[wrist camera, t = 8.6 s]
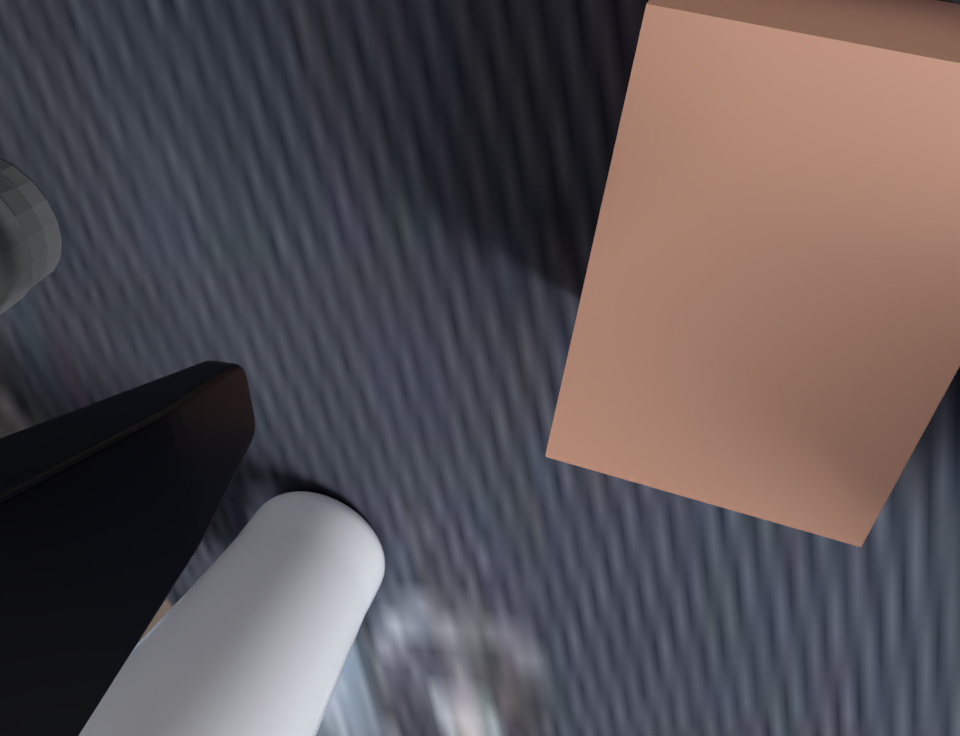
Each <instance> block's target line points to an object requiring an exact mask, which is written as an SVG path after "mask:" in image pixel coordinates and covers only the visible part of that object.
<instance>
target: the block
mask: <svg viewBox="0 0 960 736" xmlns="http://www.w3.org/2000/svg"><path fill="white" fill-rule="evenodd" d="M959 367H960V4H956V3H951V2H945V1H940V0H649V1H648V2H647V4H646V8H645V12H644V17H643V21H642V26H641V30H640V35H639V39H638V44H637V48H636V53H635V57H634V61H633V66H632V70H631V75H630V79H629V84H628V88H627V93H626V97H625V102H624V106H623V111H622V115H621V120H620V124H619V129H618V133H617V138H616V142H615V147H614V151H613V155H612V160H611V164H610V169H609V173H608V178H607V182H606V187H605V191H604V196H603V200H602V205H601V209H600V214H599V218H598V223H597V227H596V232H595V236H594V241H593V245H592V249H591V254H590V258H589V263H588V267H587V272H586V276H585V281H584V285H583V290H582V294H581V299H580V303H579V308H578V312H577V317H576V321H575V326H574V330H573V335H572V339H571V344H570V348H569V352H568V357H567V361H566V366H565V370H564V375H563V379H562V384H561V388H560V393H559V397H558V402H557V406H556V411H555V415H554V420H553V424H552V429H551V433H550V438H549V442H548V446H547V451H546V455H545V457H548V458H552V459H555V460H559V461H562V462H566V463H569V464H573V465H576V466H580V467H583V468H587V469H590V470H593V471H597V472H600V473H604V474H607V475H611V476H614V477H618V478H621V479H625V480H628V481H632V482H635V483H639V484H642V485H646V486H649V487H653V488H656V489H660V490H663V491H667V492H670V493H674V494H677V495H681V496H684V497H688V498H691V499H695V500H698V501H702V502H705V503H709V504H712V505H716V506H719V507H722V508H726V509H729V510H733V511H736V512H740V513H743V514H747V515H750V516H754V517H757V518H761V519H764V520H768V521H771V522H775V523H778V524H782V525H785V526H789V527H792V528H796V529H799V530H803V531H806V532H810V533H813V534H817V535H820V536H824V537H827V538H831V539H834V540H838V541H841V542H845V543H848V544H851V545H855V546H858V547H861V546H862V544H863V542H864V541H865V539H866V537H867V535H868V533H869V531H870V530H871V528H872V526H873V524H874V522H875V520H876V519H877V517H878V515H879V513H880V511H881V509H882V508H883V506H884V504H885V502H886V500H887V498H888V497H889V495H890V493H891V491H892V489H893V487H894V486H895V484H896V482H897V480H898V478H899V476H900V475H901V473H902V471H903V469H904V467H905V466H906V464H907V462H908V460H909V458H910V456H911V455H912V453H913V451H914V449H915V447H916V445H917V444H918V442H919V440H920V438H921V436H922V434H923V433H924V431H925V429H926V427H927V425H928V423H929V422H930V420H931V418H932V416H933V414H934V412H935V411H936V409H937V407H938V405H939V403H940V401H941V400H942V398H943V396H944V394H945V392H946V390H947V389H948V387H949V385H950V383H951V381H952V379H953V378H954V376H955V374H956V372H957V370H958V368H959Z"/></svg>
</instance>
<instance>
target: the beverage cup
mask: <svg viewBox="0 0 960 736" xmlns="http://www.w3.org/2000/svg"><path fill="white" fill-rule="evenodd" d="M61 249H62V238H61V234H60V230H59V225H58V221H57V219H56V217H55V215H54V213H53V211H52V209H51V207H50V205H49V203H48V201H47V199H46V198H45V197H44V196H43V194H42V193H41V192H40V191H39V189H38V188H37V187H36V186H35V184H34V183H33V182H32V181H31V180H30V179H29V178H28V177H26V176H25V175H24V174H23V173H22V172H20V171H19V170H18V169H17V168H16V167H14V166H13V165H11V164H9V163H7V162H5V161H3V160H1V159H0V315H1V314H2V313H4V312H5V311H6V310H8V309H9V308H10V307H11V306H13V305H14V304H15V303H17V302H18V301H19V300H21V299H22V298H23V297H25V296H26V294H27V292H28V291H29V290H30V289H32V288H33V287H34V286H35V285H36V284H38V283H39V282H40V281H41V280H42V279H44V278H45V277H46V276H48V275H49V274H51V273H52V272H54V270H55V268H56V267H57V265H58V263H59V261H60V259H61Z"/></svg>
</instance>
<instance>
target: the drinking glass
mask: <svg viewBox="0 0 960 736" xmlns="http://www.w3.org/2000/svg"><path fill="white" fill-rule="evenodd" d="M384 572H385V557H384V552H383V549H382V546H381V543H380V541H379V539H378V537H377V535H376V534H375V532H374V530H373V529H372V528H371V526H370V525H369V524H368V523H367V522H366V521H365V520H364V519H363V518H362V517H361V516H360V515H359V514H358V513H357V512H355V511H354V510H353V509H351V508H350V507H348V506H347V505H345V504H344V503H342V502H340V501H338V500H336V499H334V498H331V497H329V496H326V495H323V494H319V493H315V492H308V491H293V492H287V493H283V494H280V495H277V496H275V497H273V498H271V499H270V500H268V501H267V502H265V503H264V504H263V505H262V506H261V507H260V508H259V509H258V510H257V511H256V512H255V514H254V515H253V516H252V518H251V519H250V520H249V521H248V523H247V524H246V525H245V527H244V528H243V529H242V531H241V532H240V533H239V535H238V536H237V537H236V538H235V539H234V540H233V542H232V543H231V544H230V545H229V546H228V547H227V548H226V549H225V550H224V552H223V553H222V554H221V555H220V556H219V557H218V558H217V559H216V560H215V561H214V562H213V564H212V565H211V566H210V567H209V568H208V569H207V570H206V571H205V572H204V573H203V574H202V576H201V577H200V578H199V579H198V580H197V581H196V582H195V583H194V584H193V585H192V586H191V587H190V589H189V590H188V591H187V592H186V593H185V594H184V595H183V596H182V597H181V598H180V599H179V600H178V601H177V603H176V604H175V605H174V606H173V607H172V608H171V609H170V610H169V611H168V612H167V613H166V614H165V615H164V617H163V618H162V619H161V620H160V621H159V622H158V623H157V624H156V625H155V626H154V627H153V629H151V630H150V632H149V633H148V634H147V635H146V636H145V637H144V638H143V639H142V640H141V641H140V642H139V643H138V644H137V645H136V647H135V648H134V649H133V651H132V653H131V654H130V656H129V657H128V659H127V660H126V662H125V664H124V665H123V667H122V668H121V670H120V671H119V673H118V675H117V676H116V678H115V679H114V681H113V682H112V684H111V686H110V687H109V689H108V690H107V692H106V693H105V695H104V697H103V698H102V700H101V701H100V703H99V705H98V706H97V708H96V709H95V711H94V712H93V714H92V716H91V717H90V719H89V720H88V722H87V723H86V725H85V727H84V728H83V730H82V731H81V733H80V734H79V736H316V734H317V732H318V729H319V727H320V724H321V722H322V719H323V717H324V714H325V712H326V709H327V707H328V704H329V702H330V699H331V697H332V695H333V692H334V690H335V687H336V685H337V682H338V680H339V677H340V675H341V672H342V670H343V667H344V665H345V663H346V660H347V658H348V655H349V653H350V650H351V648H352V645H353V643H354V641H355V638H356V636H357V633H358V631H359V629H360V626H361V624H362V621H363V619H364V617H365V615H366V613H367V611H368V609H369V607H370V605H371V603H372V601H373V599H374V597H375V595H376V594H377V592H378V590H379V587H380V585H381V583H382V580H383V577H384Z"/></svg>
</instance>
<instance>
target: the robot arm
mask: <svg viewBox="0 0 960 736" xmlns="http://www.w3.org/2000/svg"><path fill="white" fill-rule="evenodd" d="M254 431H255V417H254V412H253V407H252V402H251V397H250V392H249V387H248V382H247V377H246V374H245V372H244V370H243V368H242V367H241V366H239V365H238V364H233V363H226V362H220V361H212V360H211V361H205V362H202V363H199V364H197V365H194V366H191V367H189V368H186V369H183V370H181V371H178V372H175V373H173V374H170V375H168V376H165V377H162V378H160V379H157V380H154V381H152V382H149V383H146V384H144V385H141V386H138V387H136V388H133V389H130V390H128V391H125V392H122V393H120V394H117V395H114V396H112V397H109V398H106V399H104V400H101V401H98V402H96V403H93V404H90V405H88V406H85V407H83V408H80V409H77V410H75V411H72V412H69V413H67V414H64V415H61V416H59V417H56V418H53V419H51V420H48V421H45V422H43V423H40V424H37V425H35V426H32V427H29V428H27V429H24V430H21V431H19V432H16V433H13V434H11V435H8V436H5V437H3V438H0V736H79V734H80V733H81V731H82V730H83V728H84V727H85V725H86V723H87V722H88V720H89V719H90V717H91V716H92V714H93V712H94V711H95V709H96V708H97V706H98V705H99V703H100V701H101V700H102V698H103V697H104V695H105V693H106V692H107V690H108V689H109V687H110V686H111V684H112V682H113V681H114V679H115V678H116V676H117V675H118V673H119V671H120V670H121V668H122V667H123V665H124V664H125V662H126V660H127V659H128V657H129V656H130V654H131V653H132V651H133V649H134V648H135V646H136V644H137V643H138V641H139V640H140V638H141V637H142V635H143V633H144V632H145V630H146V629H147V627H148V625H149V624H150V622H151V621H152V619H153V618H154V616H155V615H156V613H157V612H158V610H159V608H160V607H161V605H162V604H163V602H164V601H165V599H166V597H167V596H168V594H169V593H170V591H171V590H172V588H173V586H174V585H175V583H176V582H177V580H178V579H179V577H180V575H181V574H182V572H183V571H184V569H185V568H186V566H187V564H188V563H189V561H190V560H191V558H192V556H193V555H194V553H195V551H196V550H197V548H198V546H199V545H200V543H201V541H202V540H203V538H204V536H205V534H206V532H207V530H208V528H209V527H210V525H211V523H212V521H213V519H214V517H215V515H216V513H217V511H218V508H219V506H220V504H221V502H222V500H223V498H224V496H225V494H226V492H227V490H228V488H229V486H230V484H231V482H232V480H233V478H234V476H235V474H236V472H237V470H238V468H239V466H240V464H241V462H242V460H243V458H244V456H245V454H246V452H247V450H248V448H249V445H250V443H251V441H252V439H253V435H254Z"/></svg>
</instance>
